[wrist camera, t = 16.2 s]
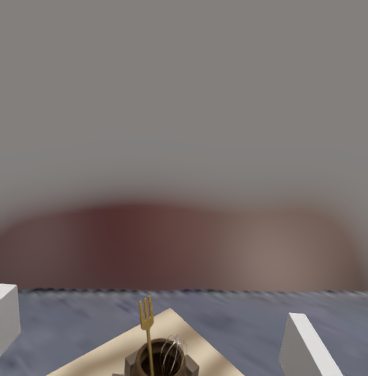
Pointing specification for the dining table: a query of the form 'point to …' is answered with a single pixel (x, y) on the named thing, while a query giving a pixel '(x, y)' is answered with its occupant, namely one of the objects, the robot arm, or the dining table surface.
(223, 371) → the ring collar board
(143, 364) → the utensil holder
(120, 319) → the dining table surface
